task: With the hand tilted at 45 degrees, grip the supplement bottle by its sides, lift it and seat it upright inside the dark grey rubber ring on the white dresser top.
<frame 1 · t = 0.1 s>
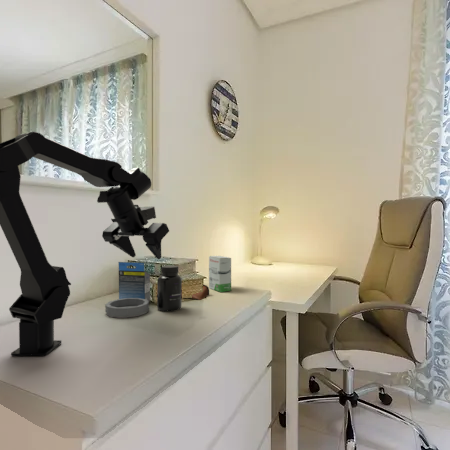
hand: (146, 257, 91), 15 cm above the table, tool tilted 35°, fingers open, 9 cm apart
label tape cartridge: (134, 302, 101), on the table
supplement bottle: (169, 309, 93), on the table
sunglasses case: (180, 297, 109), on the table
ring seat: (127, 311, 90), on the table
ink box: (219, 290, 118), on the table
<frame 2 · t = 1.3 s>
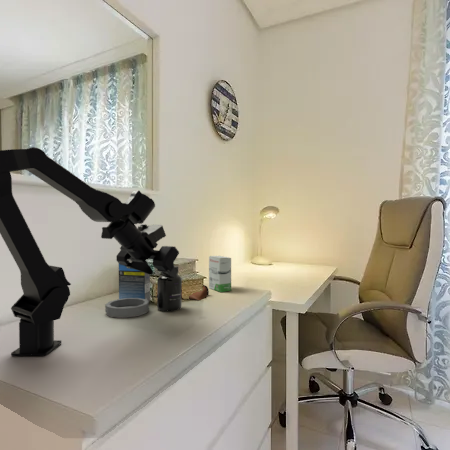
hand: (163, 274, 91), 10 cm above the table, tool tilted 45°, fingers open, 9 cm apart
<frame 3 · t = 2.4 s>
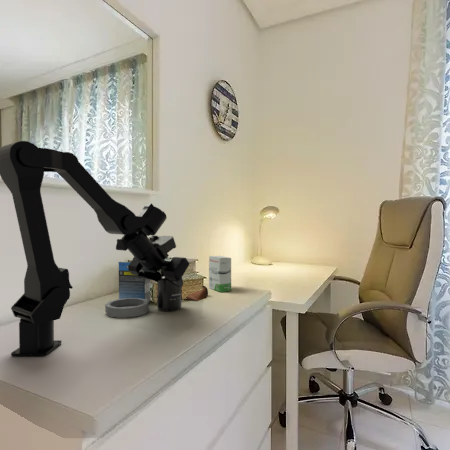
hand: (173, 284, 94), 7 cm above the table, tool tilted 45°, fingers closed on supplement bottle, 7 cm apart
supplement bottle: (169, 309, 93), on the table, touching gripper
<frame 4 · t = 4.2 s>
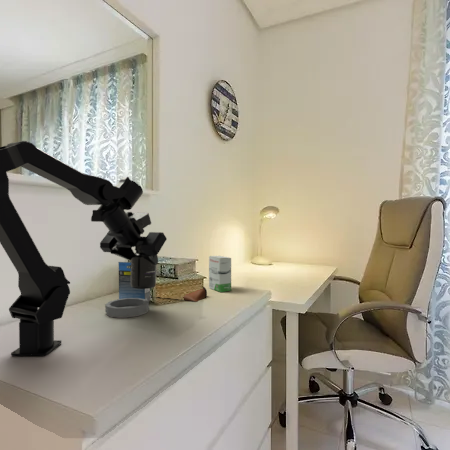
hand: (146, 262, 92), 13 cm above the table, tool tilted 45°, fingers closed on supplement bottle, 7 cm apart
supplement bottle: (143, 287, 91), point 6 cm above the table, touching gripper
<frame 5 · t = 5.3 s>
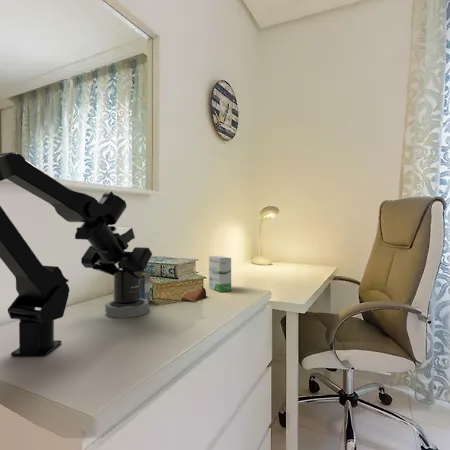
hand: (130, 276, 91), 9 cm above the table, tool tilted 45°, fingers closed on supplement bottle, 7 cm apart
supplement bottle: (126, 302, 90), point 3 cm above the table, touching gripper
when the fingers open (8 cm above the table, at t = 6.0 s): supplement bottle drops 1 cm, resting on ring seat.
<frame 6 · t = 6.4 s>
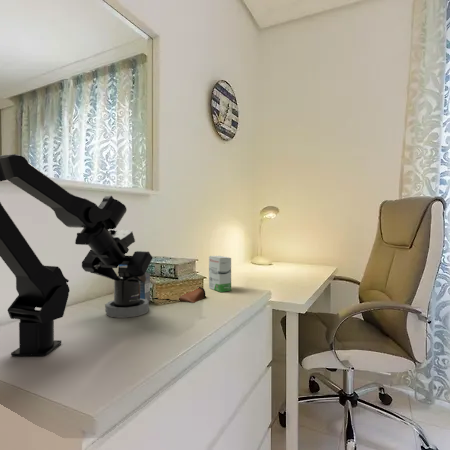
hand: (130, 280, 91), 8 cm above the table, tool tilted 45°, fingers open, 9 cm apart
supplement bottle: (127, 311, 90), resting on ring seat
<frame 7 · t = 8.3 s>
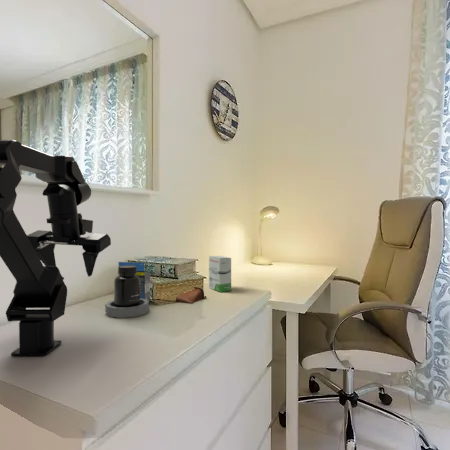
hand: (72, 274, 79), 12 cm above the table, tool tilted 15°, fingers open, 9 cm apart
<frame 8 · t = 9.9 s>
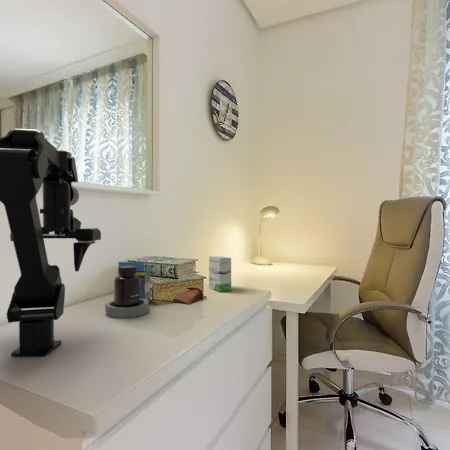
hand: (57, 271, 78), 13 cm above the table, tool pointing down, fingers open, 9 cm apart
at the end: supplement bottle 0.2 cm from the ring seat (horizontally); supplement bottle tilted 0°; supplement bottle resting on ring seat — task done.
